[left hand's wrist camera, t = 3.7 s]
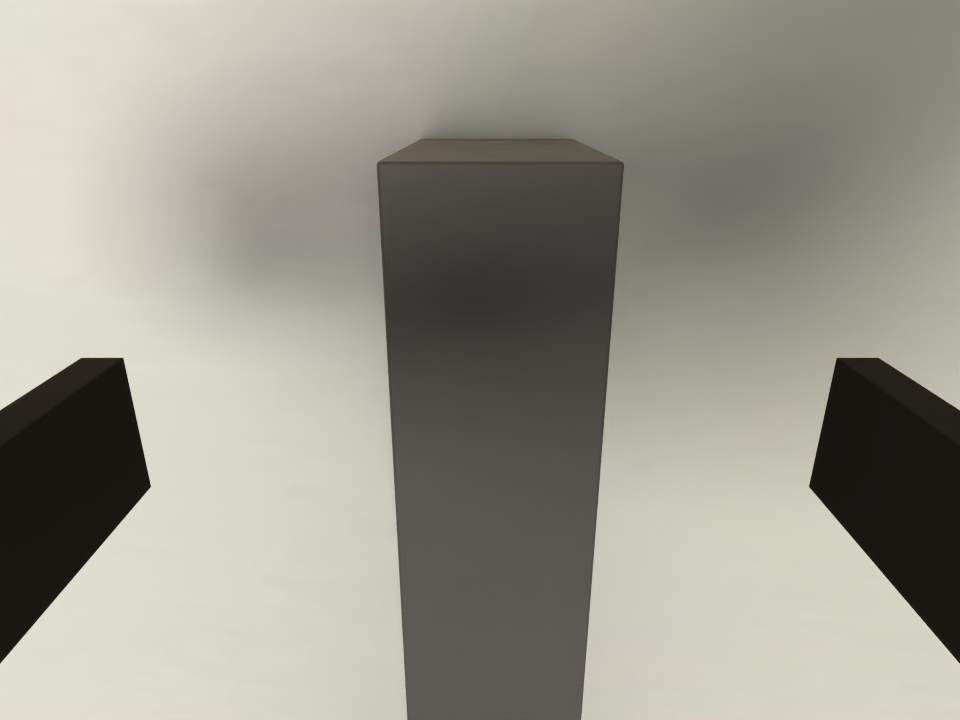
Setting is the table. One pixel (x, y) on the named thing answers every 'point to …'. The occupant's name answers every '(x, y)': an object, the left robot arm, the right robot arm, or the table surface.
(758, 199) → the table surface
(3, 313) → the table surface
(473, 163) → the beam
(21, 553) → the left robot arm
